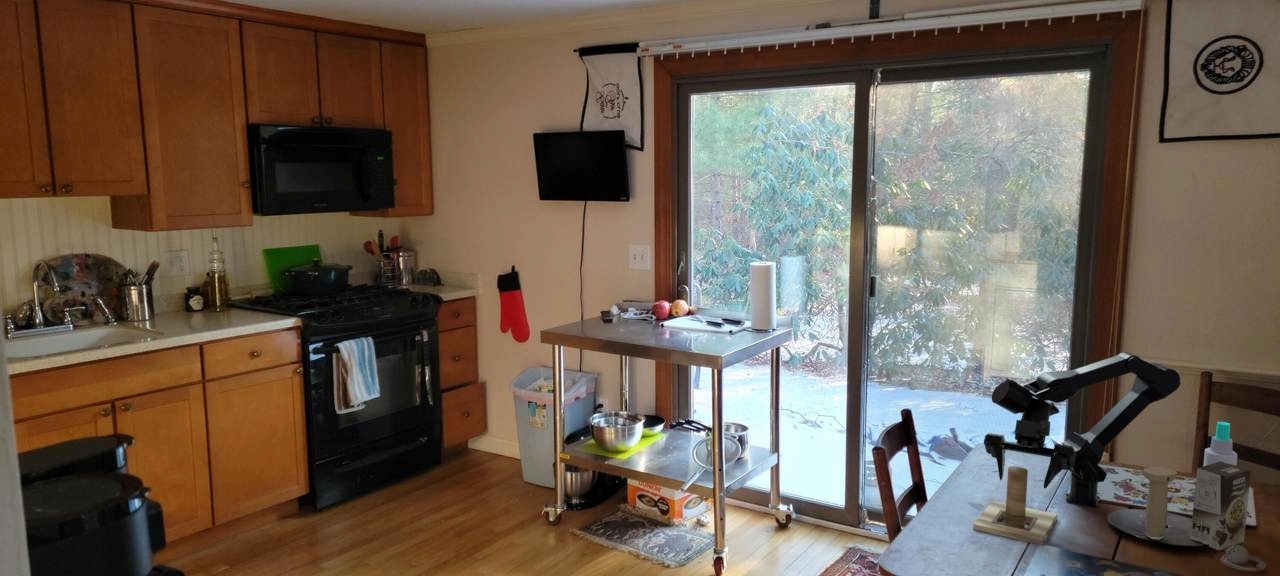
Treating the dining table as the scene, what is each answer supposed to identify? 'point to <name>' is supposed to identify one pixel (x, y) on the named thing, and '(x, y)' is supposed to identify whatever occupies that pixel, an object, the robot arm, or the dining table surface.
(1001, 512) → the socket board
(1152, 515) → the handle
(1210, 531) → the grey upright rectangular box
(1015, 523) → the peg
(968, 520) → the dining table surface
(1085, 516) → the dining table surface
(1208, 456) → the white bottle turquoise cap
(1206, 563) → the dining table surface
